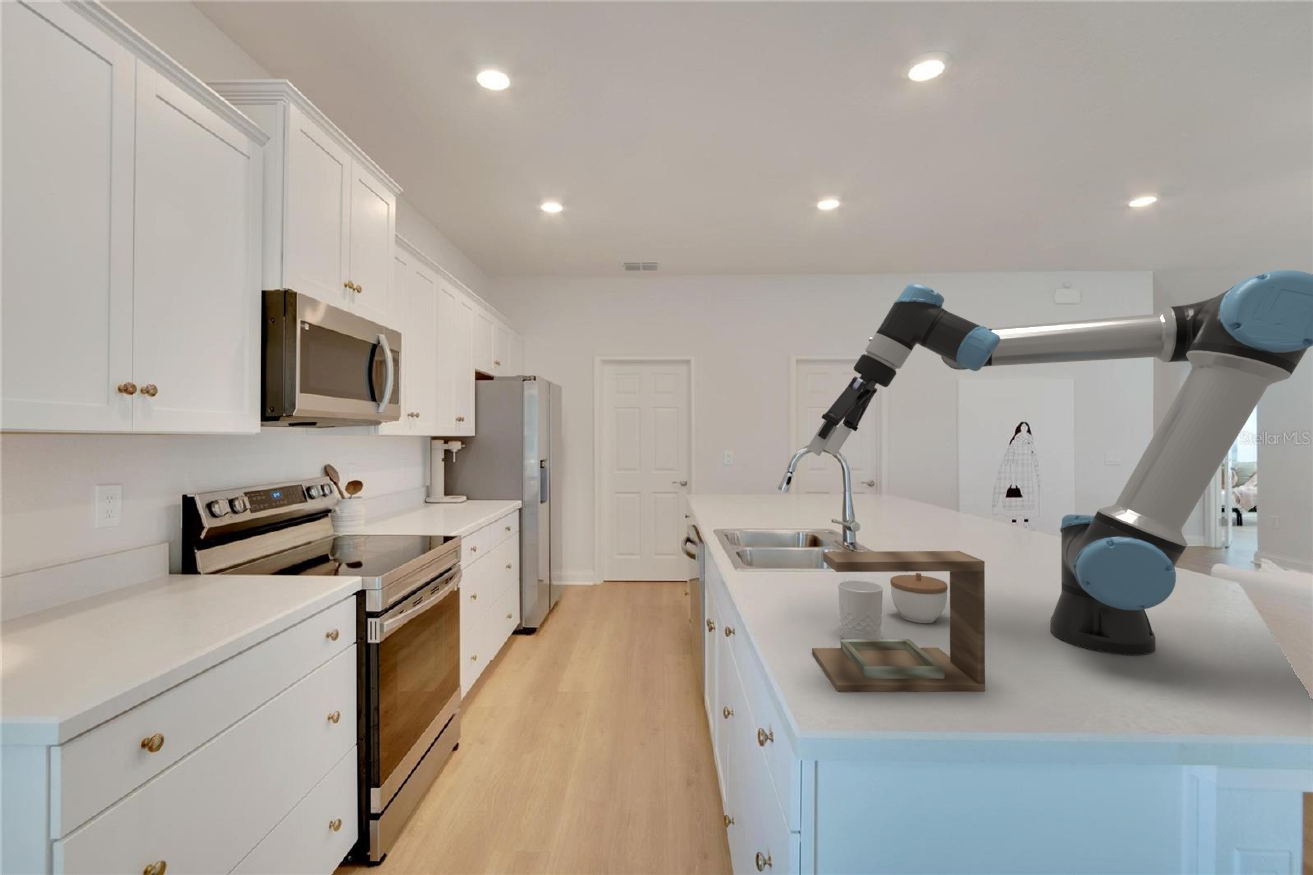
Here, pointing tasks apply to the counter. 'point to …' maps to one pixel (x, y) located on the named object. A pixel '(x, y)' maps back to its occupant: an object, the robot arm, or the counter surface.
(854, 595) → the white cup
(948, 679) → the shelf unit
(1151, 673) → the counter surface
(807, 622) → the counter surface
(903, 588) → the lidded jar
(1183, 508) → the robot arm
